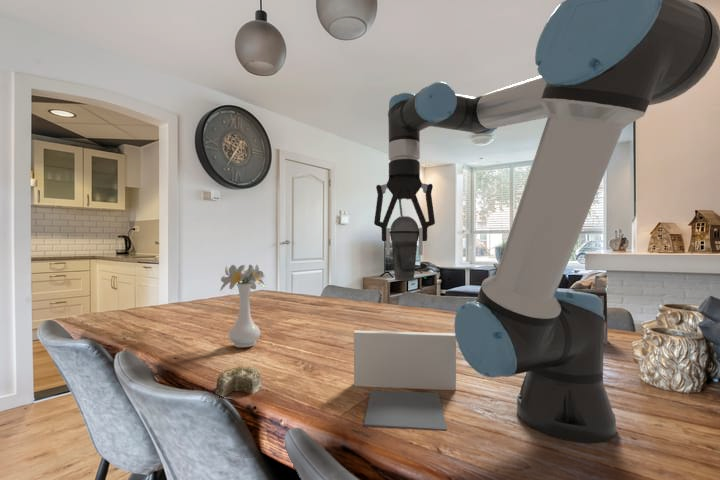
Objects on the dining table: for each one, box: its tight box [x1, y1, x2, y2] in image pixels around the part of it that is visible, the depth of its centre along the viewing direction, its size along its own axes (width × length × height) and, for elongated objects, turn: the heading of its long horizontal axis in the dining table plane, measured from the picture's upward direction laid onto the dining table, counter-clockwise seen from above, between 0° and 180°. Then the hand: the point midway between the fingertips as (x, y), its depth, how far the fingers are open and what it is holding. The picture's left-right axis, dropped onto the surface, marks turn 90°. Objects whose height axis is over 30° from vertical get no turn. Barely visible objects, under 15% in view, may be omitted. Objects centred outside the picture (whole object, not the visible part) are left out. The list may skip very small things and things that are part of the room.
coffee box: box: [573, 288, 609, 345], centre depth 115 cm, size 9×6×16 cm
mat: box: [363, 389, 448, 431], centre depth 68 cm, size 14×14×1 cm
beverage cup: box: [390, 199, 420, 282], centre depth 87 cm, size 7×7×20 cm
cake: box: [214, 366, 264, 400], centre depth 78 cm, size 10×10×5 cm
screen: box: [353, 329, 457, 391], centre depth 79 cm, size 22×2×12 cm, turn 83°
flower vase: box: [219, 264, 266, 348], centre depth 111 cm, size 13×18×25 cm
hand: (404, 254), depth 87 cm, fingers closed on beverage cup, 7 cm apart
